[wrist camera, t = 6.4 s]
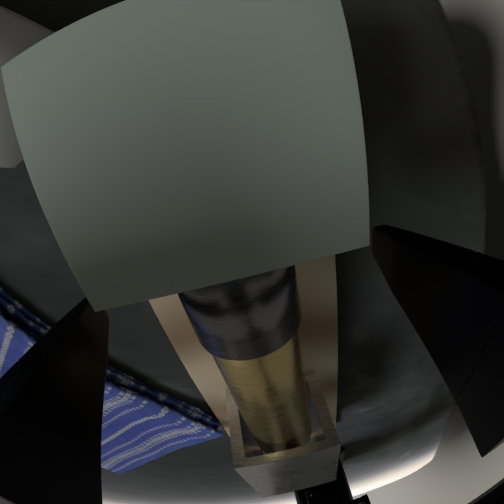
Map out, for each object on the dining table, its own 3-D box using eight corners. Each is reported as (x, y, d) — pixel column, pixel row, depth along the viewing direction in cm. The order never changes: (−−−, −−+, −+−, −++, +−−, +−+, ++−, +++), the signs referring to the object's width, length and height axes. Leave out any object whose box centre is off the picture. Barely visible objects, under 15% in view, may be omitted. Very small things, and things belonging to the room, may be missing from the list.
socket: (301, 175, 10) (369, 245, 6) (137, 216, 10) (95, 311, 6) (271, 24, 8) (331, -32, 3) (93, 72, 8) (1, 67, 3)
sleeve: (318, 425, 20) (335, 480, 16) (252, 441, 20) (262, 497, 16) (314, 369, 16) (340, 443, 12) (225, 390, 16) (234, 468, 12)
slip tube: (306, 399, 16) (321, 450, 13) (248, 413, 16) (256, 465, 13) (254, 100, 8) (281, 104, 5) (139, 130, 8) (101, 154, 5)
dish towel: (-69, 205, 9) (-98, 227, 6) (230, 410, 19) (233, 444, 17) (-73, 344, 13) (-85, 364, 11) (121, 463, 24) (119, 485, 21)
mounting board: (333, 424, 22) (335, 429, 21) (240, 446, 22) (241, 452, 21) (287, -10, 7) (291, -15, 7) (67, 49, 7) (60, 48, 7)
